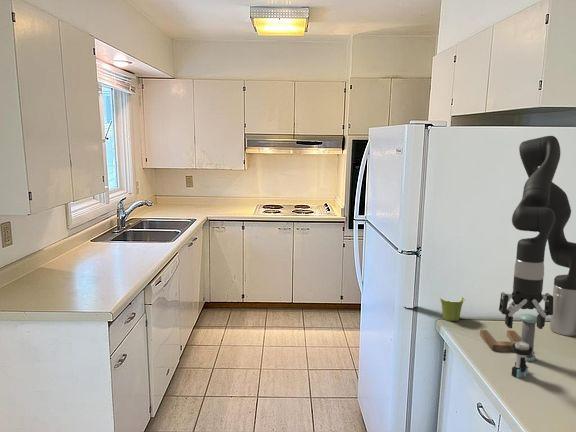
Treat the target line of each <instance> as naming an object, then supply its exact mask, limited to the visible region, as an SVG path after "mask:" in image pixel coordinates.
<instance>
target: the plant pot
mask: <svg viewBox="0 0 576 432" xmlns="http://www.w3.org/2000/svg"><path fill="white" fill-rule="evenodd" d="M438 298H439V301H440V303H441V311H442V318H443V319H444V320H445V321H449V322H453V321H455V322H457V321H459V320H460V317H461V311H462V306H463V304H464V302H465V297H463V296H462V300H461V301H460V302H450V301H445V300H443V299H441V298H440V297H439V296H438Z"/></svg>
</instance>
